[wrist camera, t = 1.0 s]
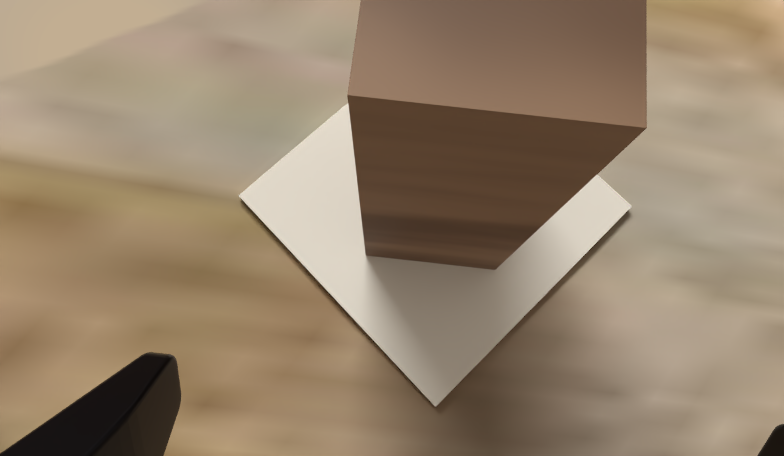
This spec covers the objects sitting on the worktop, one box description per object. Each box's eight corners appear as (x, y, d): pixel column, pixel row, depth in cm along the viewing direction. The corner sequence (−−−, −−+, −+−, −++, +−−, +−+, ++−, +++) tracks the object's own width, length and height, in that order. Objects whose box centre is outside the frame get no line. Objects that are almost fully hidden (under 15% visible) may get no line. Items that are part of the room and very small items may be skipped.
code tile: (628, 208, 23) (632, 206, 23) (434, 406, 21) (435, 407, 21) (436, 31, 25) (436, 27, 25) (240, 197, 23) (238, 195, 23)
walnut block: (495, 270, 22) (646, 127, 10) (365, 255, 22) (347, 95, 10) (503, 148, 23) (646, -117, 11) (380, 135, 24) (381, -146, 11)
